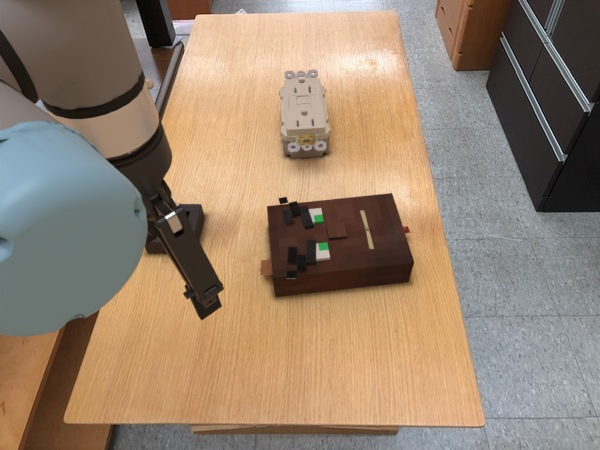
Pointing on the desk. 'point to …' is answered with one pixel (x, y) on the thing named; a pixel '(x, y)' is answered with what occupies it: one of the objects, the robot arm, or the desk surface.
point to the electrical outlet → (304, 115)
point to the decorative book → (336, 245)
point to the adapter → (196, 221)
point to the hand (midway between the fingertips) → (179, 272)
